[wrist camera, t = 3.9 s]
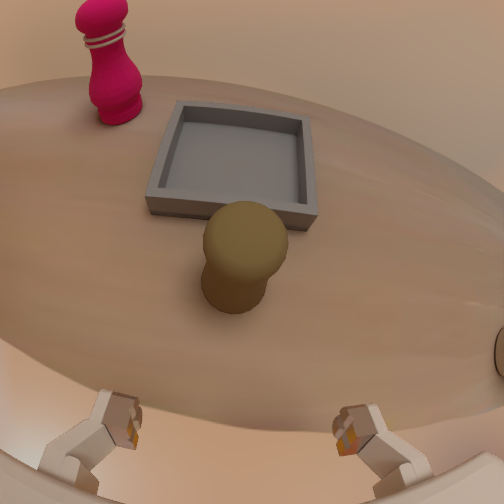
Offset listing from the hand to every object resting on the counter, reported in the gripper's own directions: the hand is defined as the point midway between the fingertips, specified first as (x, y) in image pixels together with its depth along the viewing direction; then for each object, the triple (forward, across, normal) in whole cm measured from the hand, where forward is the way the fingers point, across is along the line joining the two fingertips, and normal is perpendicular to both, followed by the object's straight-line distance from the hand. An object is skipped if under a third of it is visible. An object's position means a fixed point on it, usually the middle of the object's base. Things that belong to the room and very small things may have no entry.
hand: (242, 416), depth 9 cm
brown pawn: (+16, 0, +3) cm, 17 cm away
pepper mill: (+32, +18, -12) cm, 39 cm away
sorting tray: (+26, +1, -6) cm, 26 cm away
